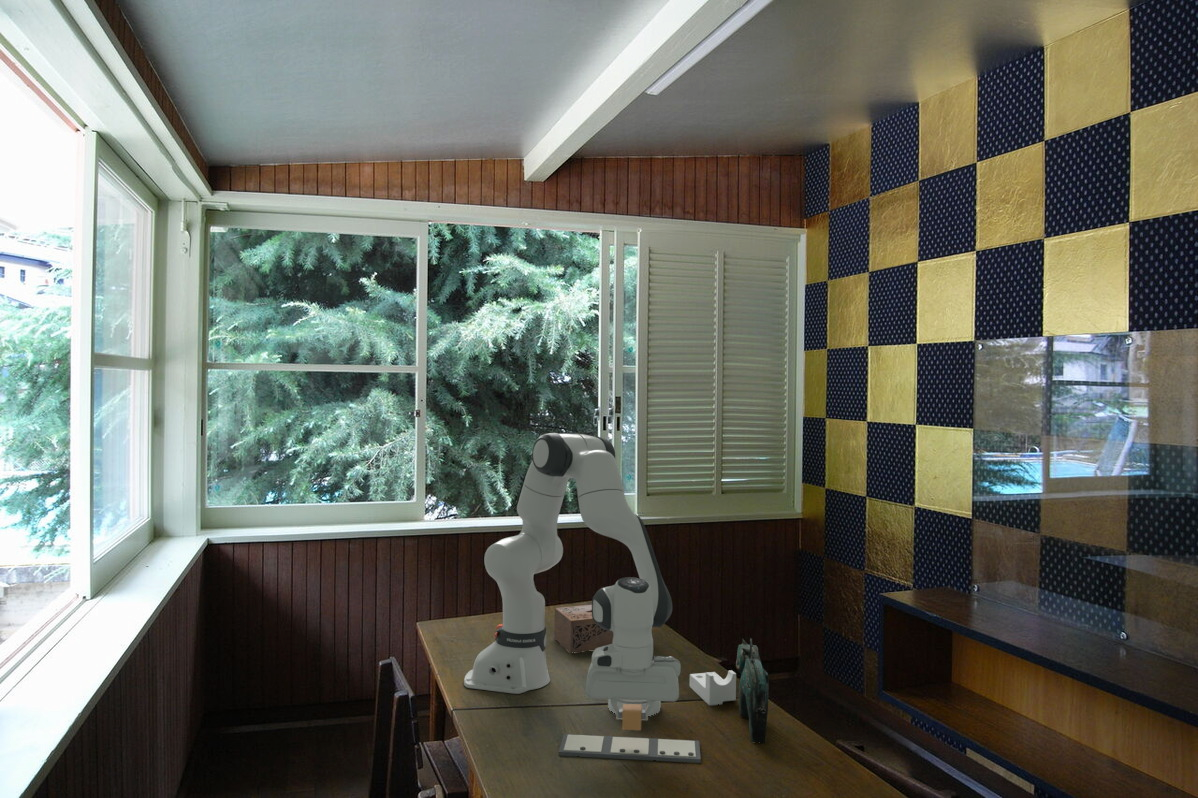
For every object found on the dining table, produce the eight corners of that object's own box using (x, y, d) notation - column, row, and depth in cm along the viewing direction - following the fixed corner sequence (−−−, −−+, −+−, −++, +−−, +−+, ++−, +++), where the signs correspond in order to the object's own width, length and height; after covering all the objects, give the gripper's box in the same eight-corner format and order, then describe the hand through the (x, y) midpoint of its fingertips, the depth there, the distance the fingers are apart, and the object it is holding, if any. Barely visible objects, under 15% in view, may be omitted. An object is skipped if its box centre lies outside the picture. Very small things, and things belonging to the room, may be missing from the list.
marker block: (622, 729, 176) (622, 711, 176) (623, 722, 180) (623, 703, 180) (641, 730, 176) (641, 711, 176) (641, 722, 180) (641, 704, 179)
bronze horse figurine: (733, 709, 201) (735, 628, 201) (760, 710, 201) (761, 628, 201) (745, 745, 181) (747, 654, 181) (775, 745, 181) (776, 655, 181)
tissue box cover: (630, 632, 263) (631, 600, 263) (649, 645, 250) (650, 612, 250) (554, 640, 254) (554, 607, 254) (570, 654, 240) (570, 620, 240)
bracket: (735, 703, 205) (736, 673, 205) (709, 706, 203) (709, 676, 203) (714, 685, 218) (715, 656, 218) (689, 687, 216) (690, 658, 216)
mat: (558, 755, 175) (558, 749, 175) (563, 737, 184) (563, 732, 184) (700, 763, 172) (700, 757, 172) (698, 744, 181) (699, 738, 181)
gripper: (680, 652, 180) (679, 714, 180) (587, 648, 181) (586, 711, 182) (681, 661, 174) (680, 726, 174) (584, 658, 175) (584, 722, 175)
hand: (631, 718), depth 178 cm, fingers closed on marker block, 4 cm apart
